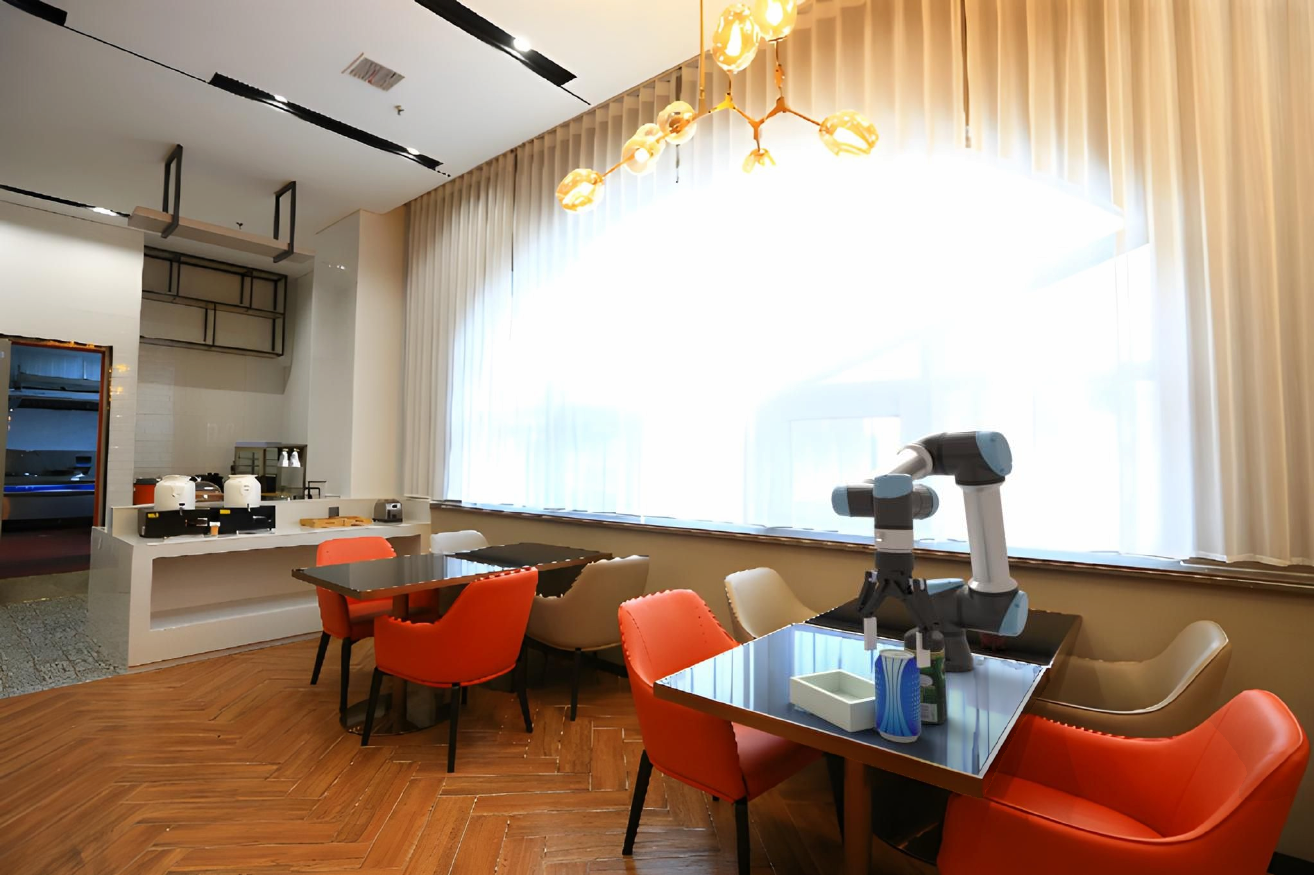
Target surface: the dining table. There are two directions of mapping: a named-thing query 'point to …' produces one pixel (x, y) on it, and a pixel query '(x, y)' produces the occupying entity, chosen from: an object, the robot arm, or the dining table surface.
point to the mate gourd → (992, 640)
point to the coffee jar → (931, 678)
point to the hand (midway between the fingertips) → (895, 658)
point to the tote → (836, 698)
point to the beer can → (897, 695)
